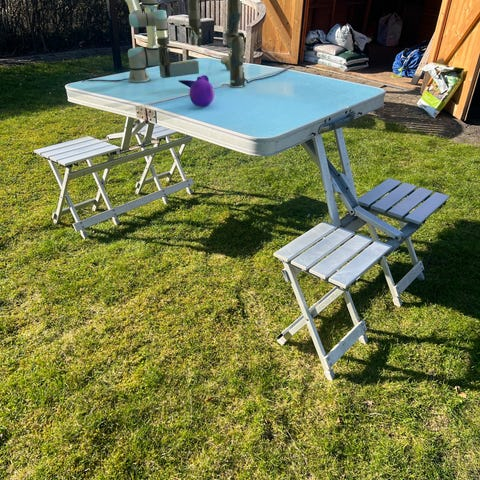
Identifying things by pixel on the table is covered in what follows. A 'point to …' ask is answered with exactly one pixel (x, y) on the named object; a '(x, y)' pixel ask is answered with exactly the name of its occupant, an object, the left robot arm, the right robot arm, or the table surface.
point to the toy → (200, 91)
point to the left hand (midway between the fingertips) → (166, 75)
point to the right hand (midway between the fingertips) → (196, 45)
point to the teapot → (227, 60)
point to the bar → (180, 68)
